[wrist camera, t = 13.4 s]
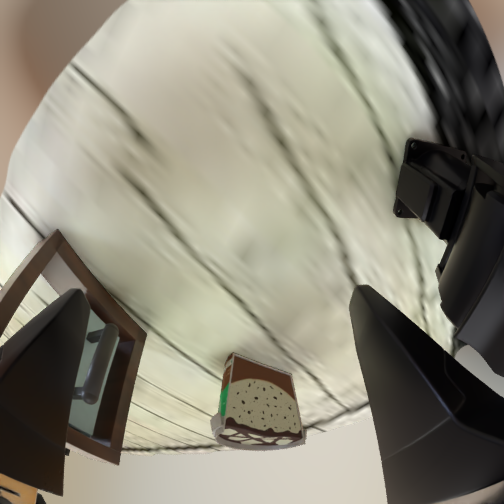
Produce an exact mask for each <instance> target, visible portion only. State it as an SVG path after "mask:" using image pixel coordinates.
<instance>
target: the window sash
mask: <svg viewBox="0 0 504 504" xmlns="http://www.w3.org/2000/svg"><path fill="white" fill-rule="evenodd" d="M118 334H119V329H118V327H117V326H116V325H115V324H113V323H109V324H105V323H104V322H103V321H102V320H101V319H100V318H99V317H98V316H97V315H96V314H95V313H94V312H93V311H92V310H91V312H90V317H89V322H88V327H87V333H86V338H85V344H84V349H83V354H82V358H81V362H80V366H79V370H78V375H77V379H76V384H75V389H74V394H73V399H72V405H71V411H70V417H69V425H71V426H72V427H74V428H76V429H78V430H79V431H81V432H83V433H85V434H87V435H90V436H92V435H93V431H94V426H95V422H96V418H97V414H98V410H99V406H100V402H101V398H102V394H103V391H104V387H105V384H106V380H107V377H108V373H109V370H110V367H111V363H112V360H113V357H114V354H115V351H116V348H117V345H118V342H119V339H120V338H119V337H118Z"/></svg>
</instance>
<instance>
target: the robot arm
mask: <svg viewBox="0 0 504 504" xmlns="http://www.w3.org/2000/svg"><path fill="white" fill-rule="evenodd" d="M412 143H414V146H413V147H411V145H412ZM461 155H462V157H461ZM466 157H467V155H466V152H464V151H463V150H460V149H457V148H453V147H449V146H445V145H441V144H437V143H433V142H428V141H424V140H419V139H414V138H410V139H408V140H407V142H406V148H405V154H404V160H403V164H402V166H401V172H400V177H399V182H398V187H397V191H396V200H395V204H394V208H393V213H394V214H395V215H396V216H397V217H399V218H419V219H420V220H421V221H422V222H424V223H425V224H426V225H427V226H428V227H429V228H430V229H431V230H432V231H433V232H434V234H435V235H436V236H437V237H438V238H439V239H440V240H443V241H444V242H445V243H446V244H447V247H446V250H445V252H444V255H443V257H442V259H441V262H440V264H438V266H437V268H436V270H435V272H436V276H437V279H438V282H439V287H438V289H439V293H440V296H441V300H442V302H441V304H440V306H441V308H442V310H443V312H444V314H445V315H446V317H447V318H448V319H449V321H450V322H451V323H452V324H453V325H454V326H455V327H456V328H457V329H458V330H457V331H456V333H455V337H456V338H457V339H459V340H461V341H463V342H465V343H467V344H469V345H470V346H471V347H472V348H474V349H475V350H476V351H477V352H478V353H479V354H480V355H481V356H482V357H483V358H484V360H485V361H486V362H487V364H488V365H489V366H490V368H491V369H492V370H493V372H494V373H496V374H498V375H500V376H502V377H504V164H503V163H500V162H497V161H494V160H491V159H488V158H485V157H482V156H479V155H476V154H472V159H471V162H472V166H469V165H467V164H466V163H465V162H466ZM400 209H401V210H400ZM398 210H400V212H398ZM349 311H350V317H351V322H352V328H353V334H354V340H355V346H356V351H357V355H358V359H359V363H360V367H361V371H362V374H363V378H364V382H365V386H366V390H367V394H368V399H369V403H370V407H371V412H372V416H373V421H374V425H375V430H376V435H377V440H378V445H379V450H380V455H381V461H382V468H383V474H384V481H385V487H386V495H387V502H388V504H504V398H503V397H502V396H500V395H498V394H497V393H496V392H494V391H493V390H492V389H491V388H489V387H488V386H487V385H486V384H484V383H483V382H482V381H481V380H479V379H478V378H477V377H476V376H474V375H473V374H472V373H470V372H469V371H468V370H467V369H466V368H464V367H463V366H462V365H461V364H460V363H459V362H458V361H456V360H455V359H454V358H453V357H452V356H451V355H450V354H449V353H448V352H446V351H445V350H444V349H443V348H442V347H441V346H440V345H439V344H437V343H436V342H435V341H434V340H433V339H432V338H431V337H430V336H429V335H427V334H426V333H425V332H424V331H423V330H422V329H421V328H419V327H418V326H417V325H416V324H415V323H414V322H412V321H411V320H410V319H409V318H408V317H407V316H405V315H404V314H403V313H402V312H401V311H400V310H398V309H397V308H396V307H395V306H394V305H392V304H391V303H390V302H389V301H388V300H386V299H385V298H384V297H383V296H382V295H380V294H379V293H378V292H377V291H376V290H374V289H373V288H372V287H371V286H369V285H357V286H355V288H354V291H353V294H352V297H351V301H350V304H349ZM90 312H91V309H90V304H89V302H88V300H87V298H86V296H85V294H84V292H83V291H82V290H81V289H80V288H71V289H69V290H68V291H66V292H65V293H64V294H62V295H61V296H60V297H59V298H57V299H56V300H55V301H54V302H52V303H51V304H50V305H49V306H47V307H46V308H45V309H44V310H42V311H41V312H40V313H39V314H38V315H36V316H35V317H34V318H33V319H32V320H30V321H29V322H28V323H27V324H26V325H25V326H23V327H22V328H21V329H20V330H19V331H18V332H17V333H15V334H14V335H13V336H12V337H11V338H10V339H9V340H8V341H6V342H5V343H4V345H2V346H1V347H0V504H46V502H45V501H44V499H43V497H42V495H41V494H39V493H37V491H38V489H40V490H43V491H46V492H49V493H52V494H55V495H58V496H63V479H64V462H65V449H66V439H67V431H68V424H69V417H70V411H71V405H72V399H73V394H74V389H75V384H76V379H77V375H78V370H79V366H80V362H81V358H82V354H83V349H84V344H85V338H86V333H87V327H88V322H89V317H90Z"/></svg>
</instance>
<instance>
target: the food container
mask: <svg viewBox="0 0 504 504" xmlns="http://www.w3.org/2000/svg"><path fill="white" fill-rule="evenodd" d="M210 421H211V428H212V433H213V436H214V437H215V440H216V442H217V443H219V444H221V445H223V446H226V447H229V448H234V449H240V450H252V451H267V450H279V449H286V448H292V447H296V446H300V445H303V444H305V440H306V432H307V430H306V429H305V430H303V427H302V422H301V417H300V412H299V408H298V403H297V398H296V393H295V388H294V383H293V379H292V374H290V373H287V372H284V371H281V370H278V369H275V368H272V367H270V366H267V365H264V364H261V363H259V362H256V361H253V360H251V359H248V358H246V357H243V356H241V355H238V354H236V353H232V354H231V355H230V356H229V357H228V358H227V360H226V363H225V368H224V374H223V381H222V388H221V395H220V401H219V408H218V413H217V414H216V415H214V416H213V417H212V418H211V420H210Z"/></svg>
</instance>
